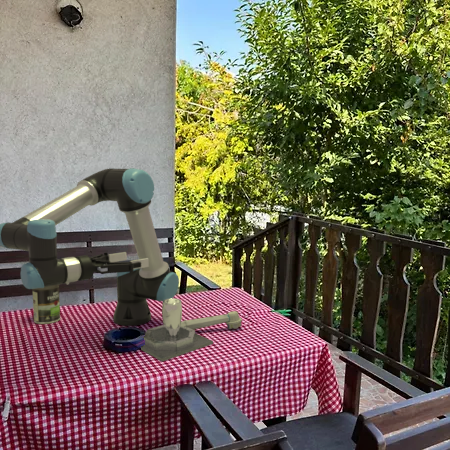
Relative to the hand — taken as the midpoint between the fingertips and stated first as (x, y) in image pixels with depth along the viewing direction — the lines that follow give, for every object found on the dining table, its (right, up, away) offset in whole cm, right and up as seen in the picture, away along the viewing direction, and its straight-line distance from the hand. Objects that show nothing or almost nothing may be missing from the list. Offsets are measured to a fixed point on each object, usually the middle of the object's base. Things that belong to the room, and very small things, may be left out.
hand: (136, 259), depth 152 cm
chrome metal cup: (+11, -30, +9) cm, 33 cm away
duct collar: (+10, -31, +11) cm, 34 cm away
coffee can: (-43, -28, +34) cm, 61 cm away
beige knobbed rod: (+24, -29, +22) cm, 44 cm away
